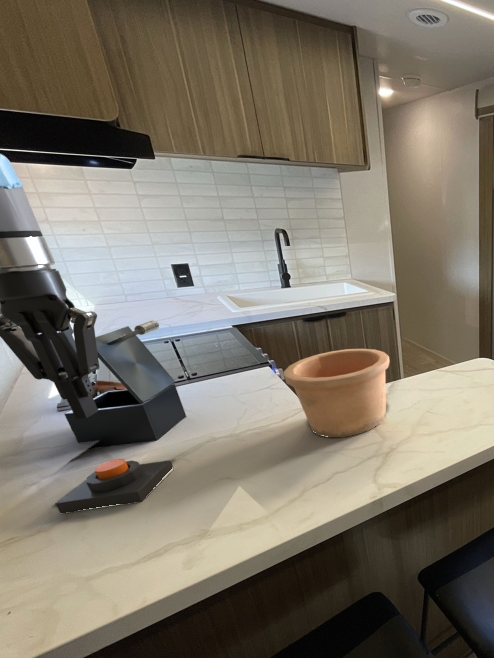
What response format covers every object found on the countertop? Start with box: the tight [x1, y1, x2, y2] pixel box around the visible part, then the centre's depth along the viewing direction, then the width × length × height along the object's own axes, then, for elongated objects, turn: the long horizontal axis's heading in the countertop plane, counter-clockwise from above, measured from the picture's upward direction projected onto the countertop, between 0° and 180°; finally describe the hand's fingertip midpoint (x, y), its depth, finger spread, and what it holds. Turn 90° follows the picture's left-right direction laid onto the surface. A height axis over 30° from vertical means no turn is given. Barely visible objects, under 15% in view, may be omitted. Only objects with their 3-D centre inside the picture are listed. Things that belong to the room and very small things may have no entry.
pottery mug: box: [92, 380, 126, 398], centre depth 109 cm, size 12×10×8 cm
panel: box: [54, 460, 174, 514], centre depth 71 cm, size 12×10×4 cm
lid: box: [95, 320, 176, 404], centre depth 89 cm, size 15×13×9 cm
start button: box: [94, 458, 129, 480], centre depth 70 cm, size 4×4×2 cm
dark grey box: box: [64, 383, 187, 450], centre depth 92 cm, size 15×13×9 cm
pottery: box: [283, 348, 390, 438], centre depth 91 cm, size 22×22×14 cm
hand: (87, 415), depth 67 cm, fingers closed
